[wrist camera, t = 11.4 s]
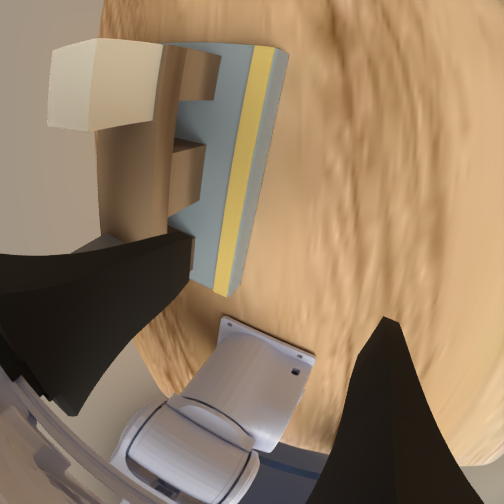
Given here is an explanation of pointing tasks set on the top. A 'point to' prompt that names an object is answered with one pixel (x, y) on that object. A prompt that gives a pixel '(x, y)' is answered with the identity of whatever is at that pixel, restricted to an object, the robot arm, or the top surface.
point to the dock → (229, 157)
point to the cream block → (103, 84)
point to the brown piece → (155, 154)
